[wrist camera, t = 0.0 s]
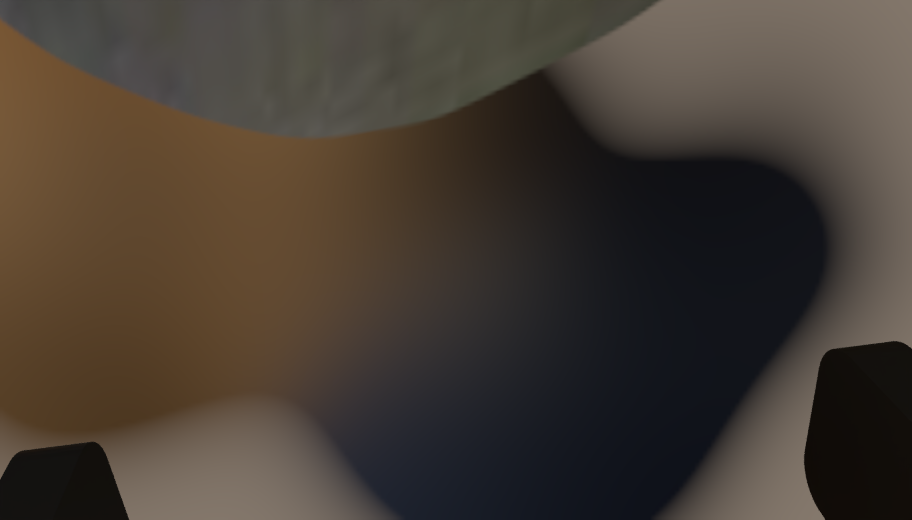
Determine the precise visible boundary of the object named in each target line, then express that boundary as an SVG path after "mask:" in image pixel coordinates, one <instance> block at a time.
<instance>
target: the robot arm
mask: <svg viewBox="0 0 912 520" xmlns="http://www.w3.org/2000/svg"><path fill="white" fill-rule="evenodd" d="M804 465H805V474H806V479H807V483H808V487H809V490H810V493H811V495H812V497H813V500H814V502H815V504H816V506H817V507H818V509H819V511H820V512H821V513H822V515H823V517H824V518H825V520H912V349H911V348H910V347H909V346H908V345H906V344H904V343H902V342H897V341H892V342H884V343H876V344H868V345H861V346H853V347H845V348H837V349H831V350H829V351H828V352H826V353H825V355H824V356H823V358H822V360H821V362H820V366H819V371H818V377H817V383H816V389H815V395H814V400H813V406H812V412H811V418H810V423H809V429H808V435H807V441H806V447H805V454H804ZM0 520H129V518H128V515H127V513H126V510H125V507H124V504H123V501H122V498H121V496H120V493H119V490H118V487H117V484H116V481H115V479H114V476H113V473H112V470H111V467H110V465H109V462H108V459H107V456H106V454H105V452H104V450H103V448H102V447H101V446H100V445H99V444H98V443H96V442H87V443H79V444H71V445H63V446H55V447H47V448H40V449H32V450H24V451H20V452H18V453H17V454H16V455H15V456H14V457H13V458H12V459H11V461H10V463H9V464H8V466H7V468H6V470H5V472H4V474H3V476H2V477H1V479H0Z"/></svg>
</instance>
